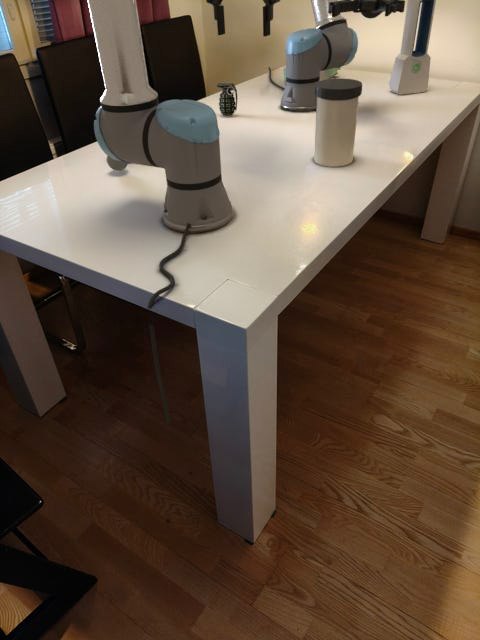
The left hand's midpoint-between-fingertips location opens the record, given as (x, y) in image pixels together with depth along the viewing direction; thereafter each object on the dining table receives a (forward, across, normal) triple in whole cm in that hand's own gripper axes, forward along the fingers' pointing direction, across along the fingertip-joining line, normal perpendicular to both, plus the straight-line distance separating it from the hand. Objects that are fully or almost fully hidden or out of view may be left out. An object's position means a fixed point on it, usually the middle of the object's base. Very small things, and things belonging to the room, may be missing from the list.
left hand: (243, 35), depth 129 cm
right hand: (-4, -27, -13) cm, 30 cm away
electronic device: (+28, -30, -72) cm, 83 cm away
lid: (+9, -29, +5) cm, 31 cm away
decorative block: (+28, +13, -83) cm, 88 cm away
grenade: (+28, +19, -22) cm, 41 cm away
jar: (+28, -29, +5) cm, 41 cm away
